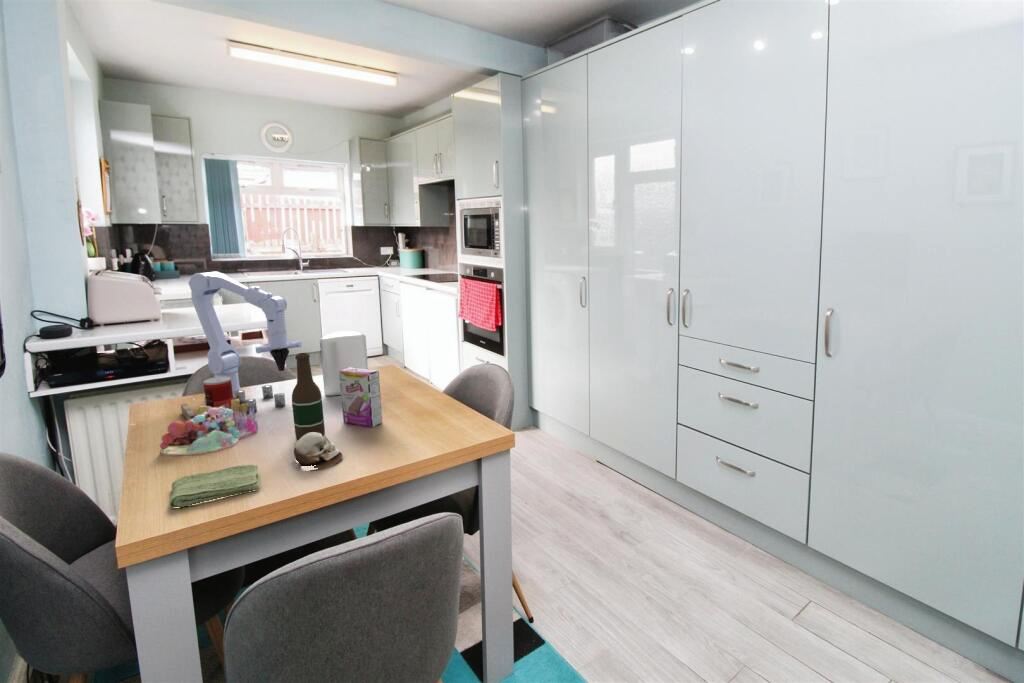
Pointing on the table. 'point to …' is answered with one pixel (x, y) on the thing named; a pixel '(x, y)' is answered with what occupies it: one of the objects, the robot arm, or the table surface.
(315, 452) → the skull
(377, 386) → the candy bar box
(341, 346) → the white tall block
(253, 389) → the table surface
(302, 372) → the beer bottle
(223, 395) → the canned food
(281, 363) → the robot arm
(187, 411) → the stop batten
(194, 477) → the washcloth
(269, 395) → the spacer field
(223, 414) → the candy landscape model
